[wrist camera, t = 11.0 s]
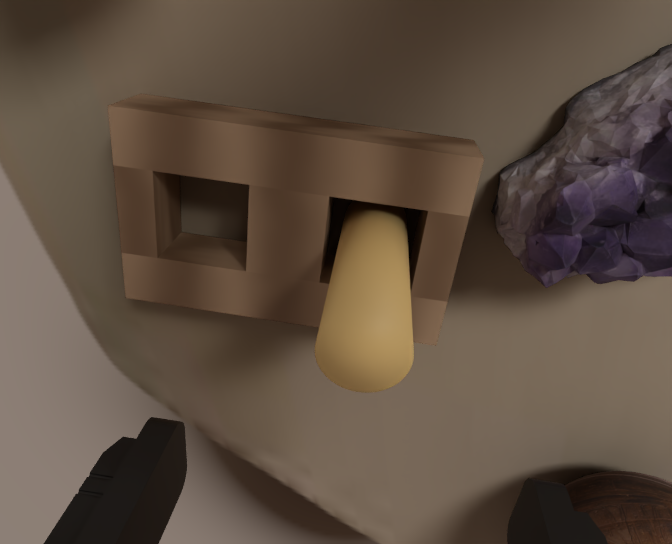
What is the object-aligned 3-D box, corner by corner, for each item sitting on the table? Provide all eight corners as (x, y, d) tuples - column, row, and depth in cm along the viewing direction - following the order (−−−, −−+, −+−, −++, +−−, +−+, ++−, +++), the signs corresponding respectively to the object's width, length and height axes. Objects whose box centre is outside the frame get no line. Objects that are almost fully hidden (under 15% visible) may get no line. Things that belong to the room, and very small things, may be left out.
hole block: (473, 140, 30) (484, 158, 27) (432, 311, 36) (436, 345, 32) (140, 93, 31) (107, 105, 27) (151, 269, 36) (125, 297, 33)
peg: (412, 196, 32) (422, 320, 20) (400, 253, 34) (404, 399, 22) (348, 187, 32) (319, 305, 20) (340, 245, 34) (310, 384, 22)
